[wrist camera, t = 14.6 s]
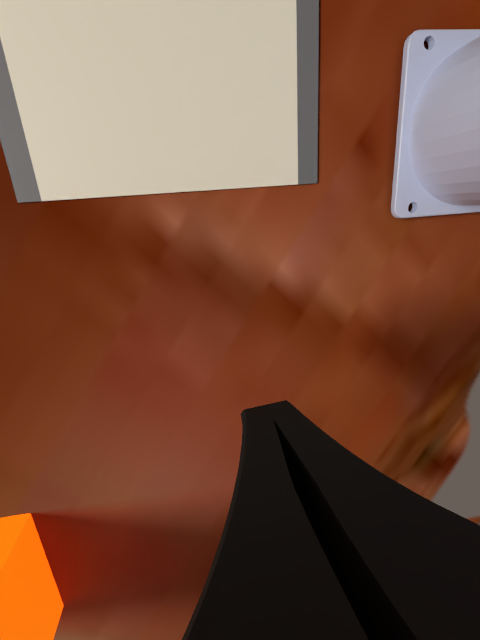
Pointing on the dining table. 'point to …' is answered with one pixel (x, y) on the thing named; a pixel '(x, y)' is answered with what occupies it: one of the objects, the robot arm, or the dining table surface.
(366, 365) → the dining table surface
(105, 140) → the game board
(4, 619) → the orange juice
